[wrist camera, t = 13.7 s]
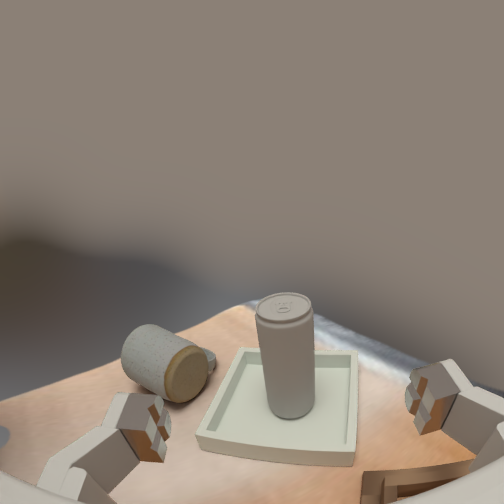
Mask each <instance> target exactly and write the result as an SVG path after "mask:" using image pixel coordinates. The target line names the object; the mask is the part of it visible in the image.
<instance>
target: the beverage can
mask: <svg viewBox="0 0 504 504" xmlns="http://www.w3.org/2000/svg"><path fill="white" fill-rule="evenodd" d="M255 320H256V327H257V333H258V340H259V347H260V353H261V360H262V366H263V373H264V380H265V387H266V393H267V400H268V405H269V407H270V409H271V411H272V412H273V413H274V414H276V415H278V416H279V417H282V418H286V419H293V418H298V417H301V416H303V415H304V414H306V413H307V412H308V411H309V410H310V409H311V408H312V406H313V405H314V402H315V352H314V321H313V310H312V307H311V302H310V300H309V299H308V298H307V297H306V296H304V295H301V294H297V293H278V294H274V295H270V296H267V297H265V298H263V299H262V300H260V301H259V302H258V303H257V305H256V314H255Z"/></svg>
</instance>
